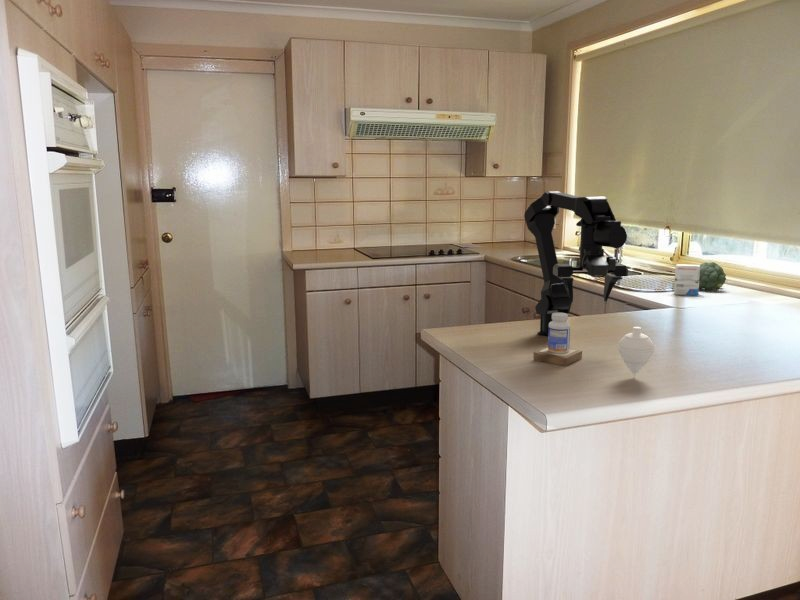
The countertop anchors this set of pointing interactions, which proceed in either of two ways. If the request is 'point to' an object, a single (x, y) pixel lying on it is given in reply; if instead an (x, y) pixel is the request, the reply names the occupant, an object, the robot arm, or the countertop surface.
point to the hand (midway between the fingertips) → (588, 301)
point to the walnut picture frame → (557, 356)
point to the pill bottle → (559, 333)
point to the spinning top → (635, 350)
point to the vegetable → (711, 276)
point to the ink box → (687, 279)
